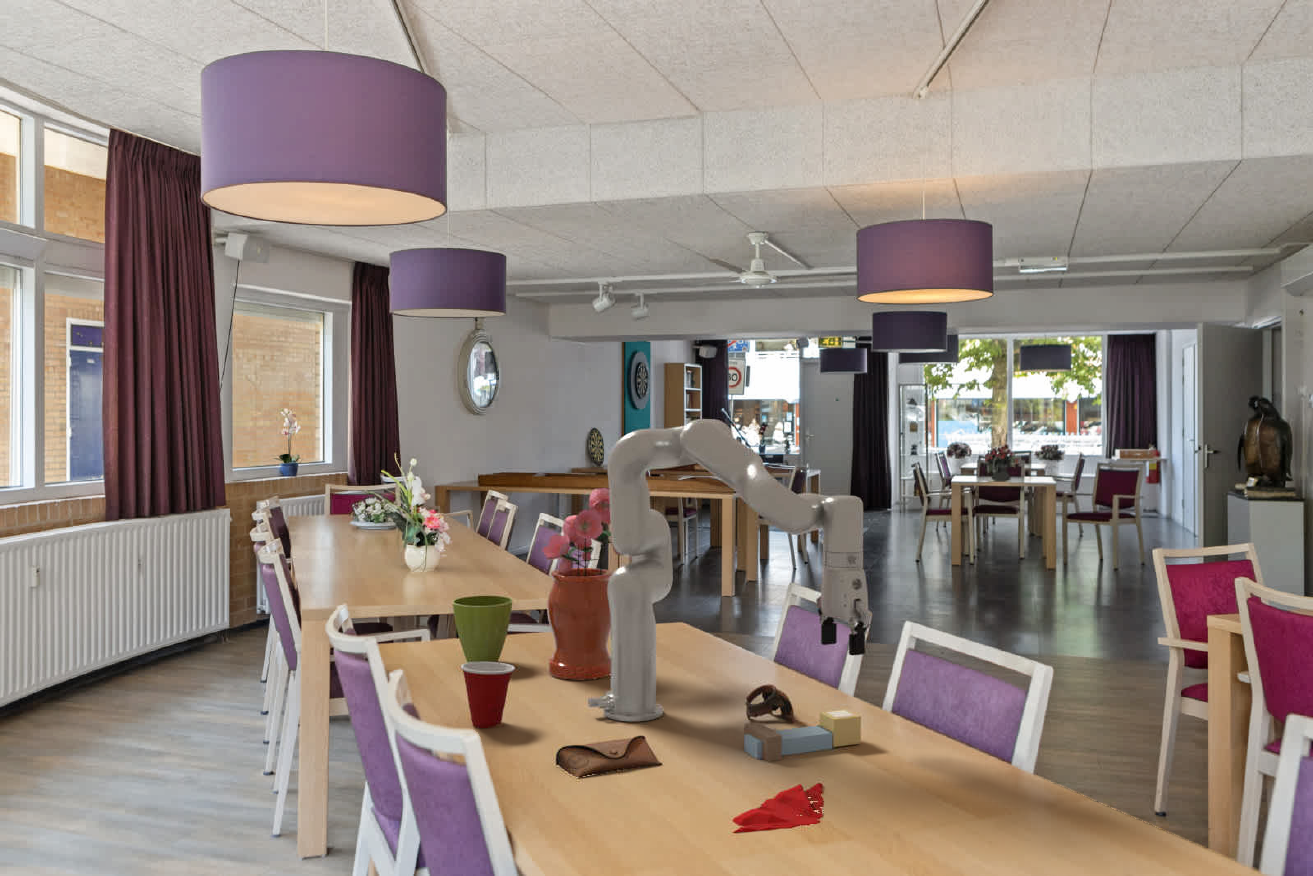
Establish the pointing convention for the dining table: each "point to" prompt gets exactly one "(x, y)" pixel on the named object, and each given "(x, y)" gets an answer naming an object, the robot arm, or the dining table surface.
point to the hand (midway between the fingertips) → (842, 649)
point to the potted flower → (580, 596)
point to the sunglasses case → (606, 756)
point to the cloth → (784, 811)
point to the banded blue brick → (784, 741)
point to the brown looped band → (769, 702)
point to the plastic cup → (486, 691)
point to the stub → (842, 726)
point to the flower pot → (482, 626)
